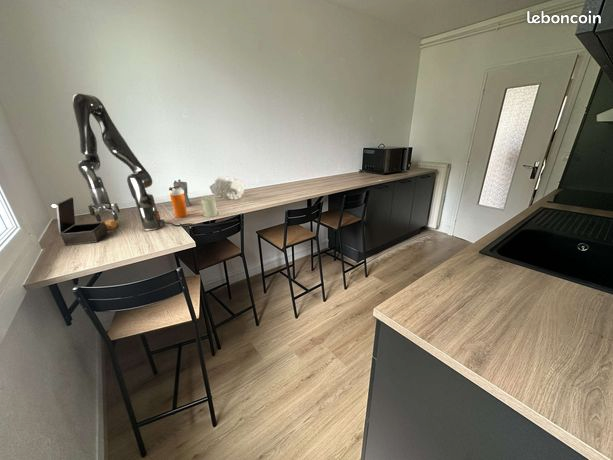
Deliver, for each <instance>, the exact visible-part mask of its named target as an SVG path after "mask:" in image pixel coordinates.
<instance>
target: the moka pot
mask: <svg viewBox="0 0 613 460" xmlns="http://www.w3.org/2000/svg"><path fill="white" fill-rule="evenodd" d="M172 185H173V187H175V186H181V189H183V190H184V197H185V203H186V208H187V207H189V206H191V201H190V198H189V196H188V183H187V181H181V179H178V181H176V180H174V182H173V184H172Z"/></svg>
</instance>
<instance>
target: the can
mask: <svg viewBox="0 0 613 460" xmlns="http://www.w3.org/2000/svg"><path fill="white" fill-rule="evenodd" d="M215 197H216V196H203V197H201V198H200V203H201V209H202V214H203V215H202V216H203V217H205V218H212V217H216V216H217V215H218V210H217V203H216V198H215Z"/></svg>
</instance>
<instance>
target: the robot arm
mask: <svg viewBox="0 0 613 460" xmlns="http://www.w3.org/2000/svg"><path fill="white" fill-rule="evenodd" d="M71 101H72V102H71V103H72V108H73V112H74V116H75V121H76V124H77V129H78V135H79V151H80V153H81V154H82V155H84V156H85V159H82V160H79V162H78V163H77V168H78V171H79V172H80V175H82V177H83V178H84V180H85V181H86V184H87V187H88V191H89V194H90V197H91V200H92V202H93V203H91V204H89V205H88V210H89V211H88V212H89V214H90V216H94V217H95V220H96V221H97V223H102V218H101V215H100V213H104V212H105V213H110V214H112V216H113V220H115V221H116V222H117V221H118V219H119V217H118V214H120V213H121V210H120V208H119V205H118V203H116V202H115V203H111V200H110V197H109V193H108V191H107V189H106V187H105V184H104V181H103V178H102V177H101V176H100V175H97V174H96V172H97V171H99V170H100V169H101V165H102V164H101V159H100V156H99V153H98V139H97V135H96V134H95V132H94V130H93V128H92V126H91V119H90V117H91V116H92V117H93V118H94V120H95V121H96V122H97V124H98V126H99V129H100V133H101V138H102V139H101V140H102V142H103V144H104V145H105V147H106V148H107V149H108V151H109V152H110V154H111V155H112V156H113V157H115V158H116V159H117V160H119V161H121V162H122V163H123V164H125V165H126V166H127V167H128V168H129V169H130V170H131V172H132V173H130V174H128V176H126V177H127V178H126V182H127V186H128V188H129V192H130V195H131V197H132V198H133V200H134V201H135V204H136V209H137V211H138V215H139V219H140V222H141V225H142V229H143V231H146V232H151V231H155V230H160V229H161V228H162V227H164V225H170V226H171V225H172V226H174V227H183V226H184V227H185V226H195V227H215V226H221V225H225V224H230V223H235V222H239V221H240V219H233V220H229V221H223V222H219V223H211V224H200V223H194V222H193V223H192V222H191V223H190V222H188V223H181V224H175V223H173V222H169V221H165V219H161V215H160V212H159V210H158V208H157V205H156V202H155V197H154V195H153V194H151V193H147V190H146V189H147V188H150V187H151V186H152V185H153V178H152V176H151V175H150V173H149V172H148V171H147V169H146V168H145V167H144V166H143V165H142V163H141V162H140V160H139V159H138V157H137V156H136V155H135V153H134V152H133V151H132V149H131V147H130V146H129V145H128V142H127V141H126V140H125V138H124V137H123V136H122V134H121V133H120V131H119V129H118V128H117V126H116V125H115V123H114V121H113V120H112V118H111V116H110V115H109V113H108V110H107V109H106V107H105V105H104V104H103V102H102V101H101V100H100V99H99V98H98V97H97V96H95V95H92V94H85V93H75V94H74V95H73V96H72V100H71ZM95 209H96V210H95Z"/></svg>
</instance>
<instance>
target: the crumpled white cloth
mask: <svg viewBox="0 0 613 460" xmlns="http://www.w3.org/2000/svg"><path fill="white" fill-rule="evenodd" d="M214 180H215V181H214V183H212V184H211V185H209V189H210V192H211V193H212V194H213V195H214V197H220V198H224V199H229V200H234V201H237V200H238V199H241V197H242V195H244V192H245V184H244V183H243V180H241V179H240V178H235V177H233V178H231V177H229V176H226V177H225V176H224V175H221V176H218V177H217V178H216V179H214Z"/></svg>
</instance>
